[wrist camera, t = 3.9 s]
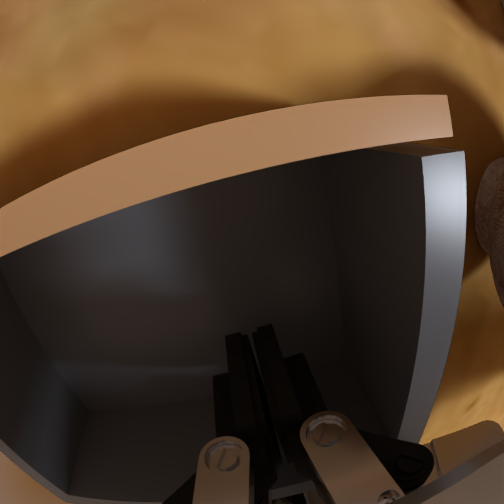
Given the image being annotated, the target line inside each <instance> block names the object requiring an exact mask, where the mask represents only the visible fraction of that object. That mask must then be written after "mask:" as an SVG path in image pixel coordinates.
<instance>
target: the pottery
mask: <svg viewBox="0 0 504 504" xmlns="http://www.w3.org/2000/svg"><path fill="white" fill-rule="evenodd" d="M502 5H503V8H504V0H502ZM474 221H475V230H476V235H477V238H478V241H479V244H480V246H481V247H482V249H483V250H484V251H485V252H486V253H487V254H489V257H490V265H491V270H492V274H493V278H494V283H495V287H496V290H497V294H498V296H499V299H500V302H501V304H502V306H503V308H504V158H498V159H496V160H494V161H492V162H491V163H490V164H489V165H488V166H487V168H486V170H485V172H484V174H483V176H482V179H481V182H480V184H479V187H478V191H477V196H476V202H475V212H474Z"/></svg>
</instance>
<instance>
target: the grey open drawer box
mask: <svg viewBox="0 0 504 504" xmlns="http://www.w3.org/2000/svg"><path fill="white" fill-rule="evenodd" d="M466 211H467V196H466V168H465V153H464V151H463V150H457V149H450V148H444V147H437V146H429V145H421V144H413V143H403V142H402V143H394V144H387V145H381V146H374V147H368V148H362V149H356V150H350V151H345V152H339V153H334V154H329V155H323V156H318V157H313V158H308V159H304V160H299V161H294V162H289V163H285V164H280V165H276V166H272V167H267V168H263V169H259V170H255V171H251V172H247V173H243V174H239V175H235V176H231V177H227V178H223V179H219V180H216V181H212V182H208V183H205V184H201V185H198V186H194V187H191V188H187V189H184V190H180V191H177V192H173V193H170V194H167V195H164V196H160V197H157V198H154V199H151V200H148V201H144V202H141V203H138V204H135V205H132V206H129V207H126V208H123V209H120V210H117V211H114V212H112V213H109V214H106V215H103V216H100V217H97V218H95V219H92V220H89V221H86V222H84V223H81V224H78V225H76V226H73V227H71V228H68V229H65V230H63V231H60V232H58V233H55V234H53V235H50V236H48V237H45V238H43V239H40V240H38V241H36V242H33V243H31V244H29V245H26V246H24V247H22V248H19V249H17V250H15V251H12V252H10V253H8V254H6V255H4V256H1V257H0V451H1V452H2V453H4V455H6V456H7V457H8V458H9V459H10V460H11V461H12V462H14V463H15V464H16V465H17V466H18V467H19V468H21V469H22V470H23V471H24V472H25V473H27V474H28V475H29V476H30V477H32V478H33V479H34V480H35V481H37V482H38V483H40V484H41V485H42V486H44V487H45V488H46V489H47V490H49V491H50V492H52V493H53V494H55V495H56V496H58V497H59V498H60V499H62V500H63V501H65V502H68V503H74V504H162V503H163V502H164V501H165V500H166V499H167V498H168V497H170V496H171V495H172V494H173V493H174V492H175V491H176V490H177V489H178V488H179V487H180V486H182V485H183V484H184V483H185V482H186V481H187V480H188V479H189V478H190V477H191V476H192V475H193V474H194V473H195V472H196V471H197V467H198V460H199V455H200V452H201V450H202V449H203V447H204V446H205V445H206V444H207V443H209V442H210V441H211V440H214V439H216V428H215V413H214V396H213V376H215V375H219V374H224V373H228V362H227V352H226V343H225V336H226V335H230V334H234V333H238V332H240V333H241V335H246V334H247V335H248V338H249V341H250V345H251V348H252V351H253V354H254V357H255V360H256V363H257V366H258V369H259V372H260V375H261V371H260V367H259V363H258V358H257V354H256V350H255V345H254V341H253V336H252V333H254V332H257V327H260V326H264V325H267V324H271V323H272V326H273V329H274V332H275V335H276V338H277V341H278V344H279V347H280V350H281V353H282V356H283V358H286V357H289V356H292V355H296V354H299V353H302V352H303V354H304V356H305V358H306V360H307V363H308V365H309V367H310V370H311V372H312V374H313V377H314V379H315V381H316V384H317V386H318V389H319V391H320V393H321V396H322V398H323V400H324V403H325V405H326V408H327V410H328V411H336V412H340V413H342V414H344V415H345V416H346V417H347V418H348V419H350V421H351V422H352V424H353V425H354V426H355V428H356V429H359V430H363V431H366V432H370V433H374V434H378V435H382V436H386V437H390V438H394V439H399V440H403V441H408V442H413V443H418V444H419V441H420V439H421V436H422V434H423V431H424V429H425V426H426V424H427V421H428V418H429V416H430V413H431V410H432V407H433V404H434V401H435V398H436V395H437V392H438V389H439V386H440V382H441V379H442V375H443V372H444V368H445V365H446V361H447V357H448V353H449V349H450V344H451V340H452V335H453V331H454V326H455V321H456V315H457V310H458V304H459V297H460V290H461V283H462V275H463V265H464V254H465V240H466ZM261 378H262V376H261ZM262 381H263V380H262ZM263 385H264V384H263ZM273 425H274V424H273ZM274 429H275V427H274ZM275 433H276V438H277V442H278V446H279V450H280V454H281V458H282V462H283V465H280V466H277V467H278V472H279V474H277V477H278V480H277V481H276V482H275V483H274V485H273V486H272V487H271V491H272V500H274V499H279V498H283V497H288V496H292V495H296V494H300V493H303V492H307V491H311V490H314V489H315V487H314V485H313V484H312V482H311V479H308V478H306V477H303V476H301V475H298V473H297V470H296V467H295V464H294V462H292V463H288V462H287V459H286V457H285V454H284V451H283V448H282V446H281V443H280V440H279V438H278V435H277V432H276V429H275Z"/></svg>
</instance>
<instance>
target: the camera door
mask: <svg viewBox="0 0 504 504" xmlns="http://www.w3.org/2000/svg"><path fill="white" fill-rule="evenodd" d="M443 137H453V131H452V124H451V117H450V110H449V104H448V99H447V95H396V96H378V97H364V98H353V99H343V100H335V101H326V102H319V103H312V104H305V105H299V106H292V107H287V108H281V109H275V110H270V111H265V112H260V113H255V114H250V115H246V116H241V117H237V118H233V119H228V120H224V121H220V122H216V123H212V124H208V125H205V126H201V127H197V128H194V129H190V130H187V131H183V132H180V133H176V134H173V135H170V136H167V137H163V138H160V139H157V140H154V141H151V142H148V143H145V144H142V145H139V146H136V147H134V148H131V149H128V150H125V151H123V152H120V153H117V154H115V155H112V156H109V157H107V158H104V159H102V160H99V161H97V162H94V163H92V164H89V165H87V166H85V167H82V168H80V169H78V170H75V171H73V172H71V173H69V174H66V175H64V176H62V177H60V178H58V179H56V180H53V181H51V182H49V183H47V184H45V185H43V186H41V187H39V188H37V189H35V190H33V191H31V192H29V193H27V194H25V195H23V196H22V197H20V198H18V199H16V200H14V201H12V202H10V203H9V204H7V205H5V206H3V207H2V208H0V257H1V256H4V255H6V254H8V253H10V252H12V251H15V250H17V249H19V248H22V247H24V246H26V245H29V244H31V243H33V242H36V241H38V240H40V239H43V238H45V237H48V236H50V235H53V234H55V233H58V232H60V231H63V230H65V229H68V228H71V227H73V226H76V225H78V224H81V223H84V222H86V221H89V220H92V219H95V218H97V217H100V216H103V215H106V214H109V213H112V212H114V211H117V210H120V209H123V208H126V207H129V206H132V205H135V204H138V203H141V202H144V201H148V200H151V199H154V198H157V197H160V196H164V195H167V194H170V193H173V192H177V191H180V190H184V189H187V188H191V187H194V186H198V185H201V184H205V183H208V182H212V181H216V180H219V179H223V178H227V177H231V176H235V175H239V174H243V173H247V172H251V171H255V170H259V169H263V168H267V167H272V166H276V165H280V164H285V163H289V162H294V161H299V160H304V159H308V158H313V157H318V156H323V155H329V154H334V153H339V152H345V151H350V150H356V149H362V148H368V147H374V146H381V145H387V144H394V143H402V142H409V141H417V140H425V139H434V138H443Z"/></svg>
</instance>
